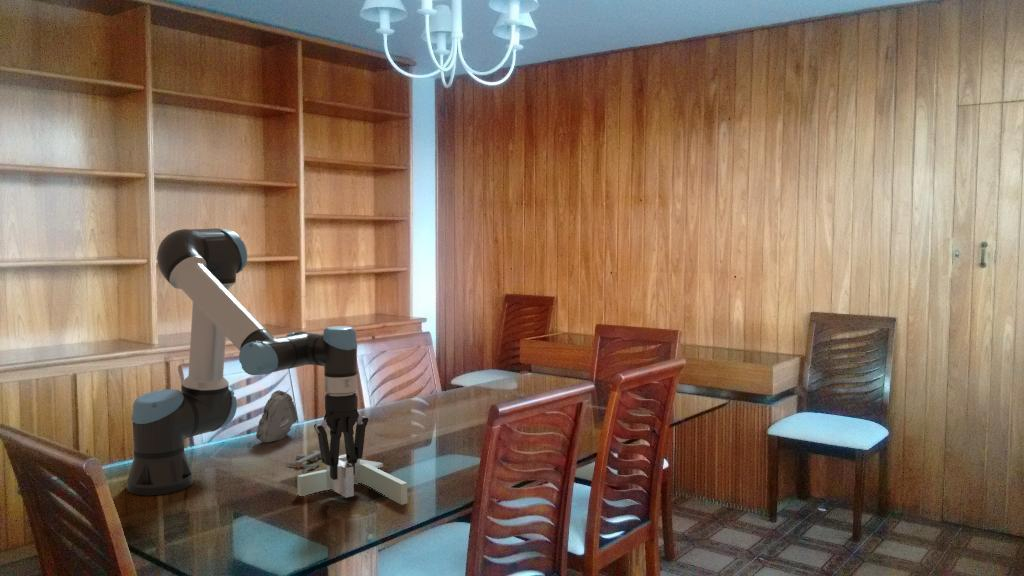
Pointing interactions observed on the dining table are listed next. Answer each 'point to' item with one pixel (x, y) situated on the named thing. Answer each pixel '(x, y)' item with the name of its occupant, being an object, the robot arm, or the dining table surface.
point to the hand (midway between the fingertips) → (342, 490)
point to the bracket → (345, 476)
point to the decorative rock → (277, 417)
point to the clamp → (303, 458)
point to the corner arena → (368, 476)
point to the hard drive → (373, 463)
